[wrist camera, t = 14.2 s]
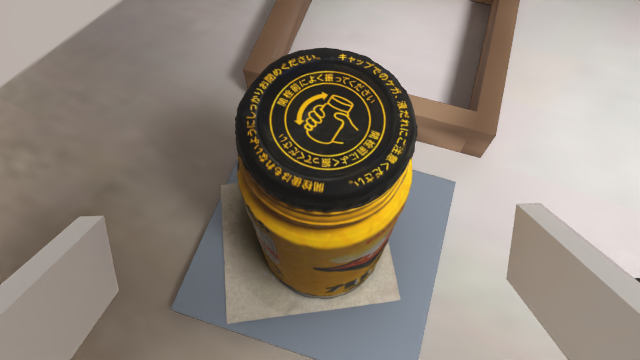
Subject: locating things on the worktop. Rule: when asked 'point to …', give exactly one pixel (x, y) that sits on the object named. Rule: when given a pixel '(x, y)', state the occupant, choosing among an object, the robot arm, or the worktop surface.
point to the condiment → (316, 186)
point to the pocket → (431, 116)
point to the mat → (345, 323)
